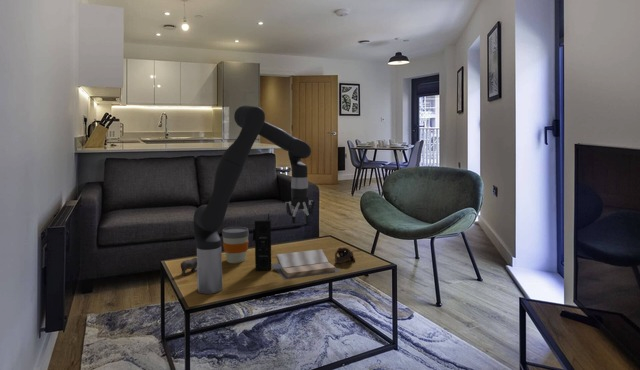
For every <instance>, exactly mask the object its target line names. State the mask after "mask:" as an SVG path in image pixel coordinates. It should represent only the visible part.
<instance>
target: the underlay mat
mask: <svg viewBox="0 0 640 370" xmlns="http://www.w3.org/2000/svg"><path fill="white" fill-rule="evenodd" d="M271 268H273V269H274V271H276V272H277V274H279V275H280V276H281V277H282V279H283V280H284V281H285V280H292V279H300V278H301V279H302V278H307V277H315V276H323V275H327V274H335V273H337V274H338V273H342V271H341V270H339V269H338V268H336V267H335V271H332V272H324V273H317V274H310V275H302V276H295V277H287V276H286V275H285V274H284V273H283V271H282V270H281V268H280V265H279V263H278V262H277V263H271Z"/></svg>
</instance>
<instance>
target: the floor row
mask: <svg viewBox="0 0 640 370" xmlns="http://www.w3.org/2000/svg"><path fill="white" fill-rule="evenodd" d="M335 268H336V266H334V265H333V264H332V263H330V262H328V263H321V264H313V265H305V266H298V267H290V268H283V273H284V274H285V275H286V276H287V277H295V276H302V275H310V274H317V273H324V272H332V271H335Z"/></svg>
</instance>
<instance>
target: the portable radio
mask: <svg viewBox="0 0 640 370" xmlns="http://www.w3.org/2000/svg"><path fill="white" fill-rule="evenodd" d="M253 221H254V227H253V229H252V242H254V261H255V262H254V265H255V272H266V271H272V266H271V264H272V229H271V228H272V227H271V226H272V222H271V218H270V213H267V218H255V219H254V220H253Z"/></svg>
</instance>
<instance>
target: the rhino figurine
mask: <svg viewBox="0 0 640 370" xmlns="http://www.w3.org/2000/svg"><path fill="white" fill-rule="evenodd" d="M180 269H181V276H183V277H185V276H186V275H187V274H186V271H187V270H190V271H191V272H193V273H197V256H196V257H193V258H192V259H186V260H183V261H182V262H181V263H180Z"/></svg>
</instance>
